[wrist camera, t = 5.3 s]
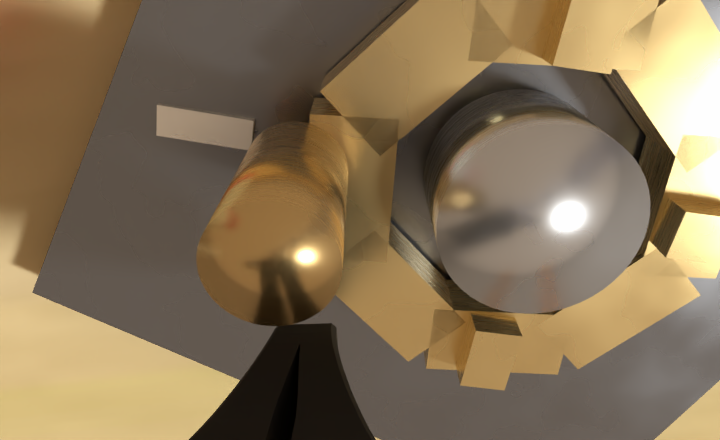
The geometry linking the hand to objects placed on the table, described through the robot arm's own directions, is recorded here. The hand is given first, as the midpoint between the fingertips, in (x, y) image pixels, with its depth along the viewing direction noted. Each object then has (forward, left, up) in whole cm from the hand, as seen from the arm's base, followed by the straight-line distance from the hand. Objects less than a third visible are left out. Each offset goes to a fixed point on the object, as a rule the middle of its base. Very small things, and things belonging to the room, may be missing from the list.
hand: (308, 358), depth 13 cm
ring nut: (-5, +3, -3) cm, 7 cm away
